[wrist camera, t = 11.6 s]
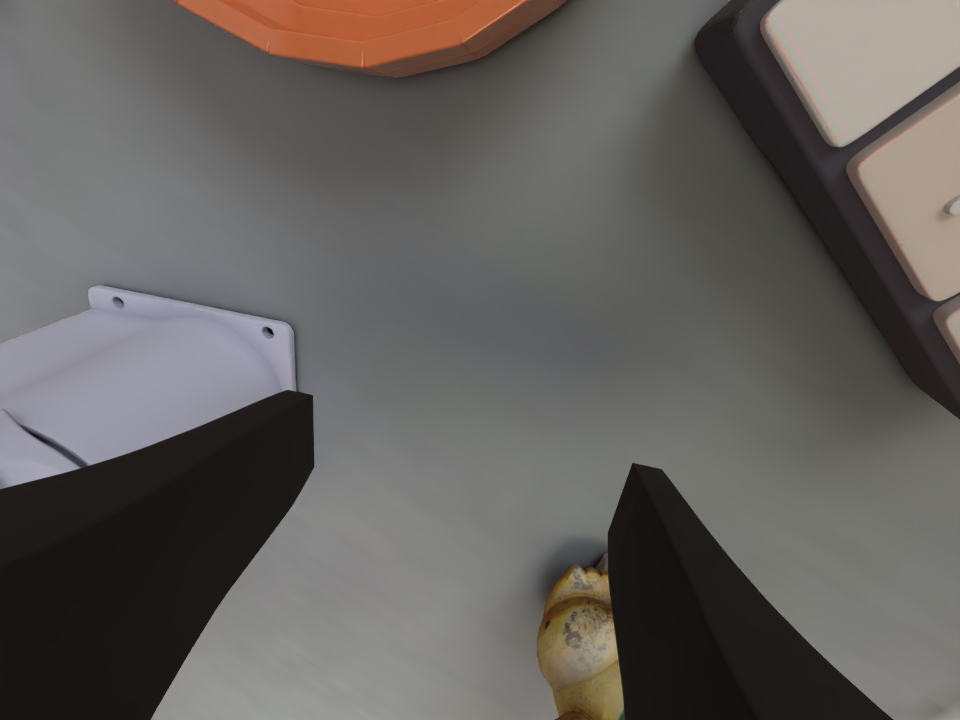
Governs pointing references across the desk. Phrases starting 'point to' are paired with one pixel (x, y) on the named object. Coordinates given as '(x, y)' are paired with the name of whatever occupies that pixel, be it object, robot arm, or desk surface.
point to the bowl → (374, 30)
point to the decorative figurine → (581, 646)
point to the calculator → (863, 150)
